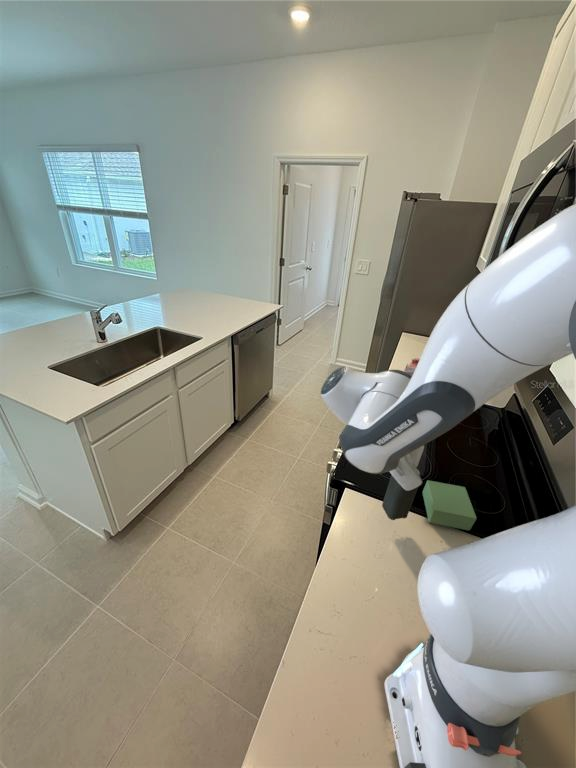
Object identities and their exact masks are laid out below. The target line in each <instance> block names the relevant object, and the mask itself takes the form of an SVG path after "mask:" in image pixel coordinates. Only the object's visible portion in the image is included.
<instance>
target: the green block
mask: <svg viewBox="0 0 576 768" xmlns="http://www.w3.org/2000/svg"><path fill="white" fill-rule="evenodd" d="M421 493H422V497H423V501H424V506H425V512H426V516H427V521H428V523H431V524H434V525H439V526H444V527H450V528H454V529H457V530H458V529H459V530H464V531H469V532H470V531H471V529H472V527H473V526H474V524H475V522H476V521H477V515H476V513H475V510H474V507H473V505H472V502H471V499H470V496H469V493H468V491H467V489H466V487H465V486H461V485H456V484H450V483H444V482H440V481H434V480H429V479H428V480H426V482H425V485H424V487H423V490H422V492H421Z"/></svg>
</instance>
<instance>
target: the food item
mask: <svg viewBox="0 0 576 768" xmlns="http://www.w3.org/2000/svg"><path fill="white" fill-rule="evenodd" d="M419 360H420V358H412V359H411V362H410V363H407V364H406V365H405V367H404V370H403V371H404V372H406V373H407V374H409V375H410V376H413V373H414V371H415V369H416V367H417V365H418V362H419Z"/></svg>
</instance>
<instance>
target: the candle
mask: <svg viewBox="0 0 576 768" xmlns="http://www.w3.org/2000/svg"><path fill="white" fill-rule="evenodd" d="M424 449H425V445H423V446H421V447H419V448H418V449H416V450H414V451H412V452H411V453H410V455H411V457H412V460H413V462H414V464H415V466H416V467H417V468H418V466H419V463H420V460H421V459H422V458H421V457H422V455H423V452H424ZM419 487H420V486H418V487H416V488H415V489H412V490H409V491H406V490H405V489H404V488H403V487H402V486H401V485H400V484H399V483H398V482H397V481H396V479H395V478H394V477H393V476H392V475H390V478H389V482H388V484H387V488H386V491H385V495H384V497H383V501H382V504H381V507H382V509H383V511H384V512H385V514H386V516H387V518H388V519H389V520H391V521H395V520H399V519H407V517H408V515H409V512H410V510H411V507H412V505H413V502H414V500H415V497H416V495H417V492H418V489H419Z"/></svg>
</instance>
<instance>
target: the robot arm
mask: <svg viewBox="0 0 576 768" xmlns="http://www.w3.org/2000/svg"><path fill="white" fill-rule="evenodd" d="M570 355H573V356H574V359H575V360H576V203H574V204H572V205H570V206H568V207H566V208H565V209H562V210H561V211H560V212H558V213H557V214H555V215H554V216H552V217H551V218H549V219H548V220H546V221H545V222H544V223H542V224H540V225H538V226H537V227H536V228H535V229H533V230H532V231H531V232H529V233H527V234H526V235H525V236H523V237H522V238H520V239H519V240H518V241H517V242H515V243H514V244H513V245H511V247H509V248H508V249H506V250H505V251H504V252H503V253H501V254H500V255H499V256H498V257H497V258H496V259H495V260H493V261H492V262H491V263H490V264H489V265H487V266H486V267H484V269H483V270H482V271H480V273H478V274H477V275H476V276H475V277H474V278H473V279H472V280H471V281H470V282H469V283H467V284H466V285H465V287H464V288H463V289H461V291H460V292H459V293H458V294H457V295H456V297H455V298H454V299H453V300H452V301H451V302H450V304H449V305H448V306H447V308H446V309H445V310H444V312H443V313H442V315H441V316H440V318H439V319H438V320H437V322H436V324H435V325H434V327H433V329H432V331H431V333H430V335H429V337H428V340H427V342H426V344H425V346H424V349H423V351H422V353H421V355H420V358H419V359H420V360H419V362H418V365H417V367H416V369H415V371H414V373H413V376H410V375H409V374H407V373H406V372H404V370H401V369H387V370H383V371H379V372H363V371H362V372H361V371H358V370H356V369H354V368H352V367H350V366H348V365H347V366H346V365H344V366H341V367H337V368H336V369H335V370H334V371H332V372H331V373H330V374H329V375H328V376H327V378H326V380H325V381H324V383H323V385H322V386H321V388H320V389H321V390H320V397H321V398H322V400H323V402H324V403H325V405H326V406H327V407H328V409H329V410H330V411H331V412H332V414H333V415H334V416H335V417H336V418H337V419H338V420H339V421H340V422H341V423H342V424H344V425H345V427H344V428H343V429H342V431H341V433H340V434H339V436H338V441H339V445H340V448H341V451H342V454H343V457H344V458H345V460H346V461H347V462H348V463H349V464H350V465H352V466H353V467H355V468H356V469H358V470H360V471H362V472H364V473H368V474H371V475H380V474H386V473H390V474H391V475H392V476H393V477H394V478H395V479H396V481H397V482H398V483H399V484H400V485H401V486H402V487H403V488H404V489H405V490H406V491H409V490H412V489H415V488H416V487H418V486H419V487H420V486H421V485H422V484H423V480H422V478H421V475H420V474H421V473H420V470H419V468H418V466H417V467H416V466H415V464H414V462H413V460H412V457H411V455H410V453H411V452H412V451H414V450H416V449H418V448H419V447H421V446H423V445H424V446H425V445H427V444H428V443H431V442H432V441H434V440H435V439H437V438H439V437H441V436H442V435H444V434H445V433H447V432H449V431H451V430H452V429H453V428H455V427H456V426H457V425H459V424H460V423H462V422H463V421H464V420H465V419H467V418H468V417H470V416H471V415H472V414H473V413H474V412H476V411H477V410H478V409H480V408H481V407H482V406H484V405H485V404H486V403H488V402H489V401H490V400H492V399H493V398H494V397H496V396H497V395H498V394H501V393H502V392H503V391H505V390H507V389H508V388H510V387H511V386H514V385H515V384H517V383H519V382H520V381H522V380H523V379H525V378H526V377H528V376H530V375H532V374H534V373H535V372H537V371H540V370H541V369H543V368H545V367H547V366H549V365H552V364H554V363H556V362H557V361H560V360H562V359H564V358H566V357H568V356H570ZM391 475H390V476H391ZM419 487H418V488H419ZM416 585H417V586H416V592H417V594H416V595H417V601H418V606H419V610H420V613H421V616H422V618H423V621H424V623H425V625H426V627H427V629H428V631H429V632H430V634H429V635H428V638H427V639H426V642H425V644H423V642H421V643H420V644H419V645H418V646H417V647H416V648H415V649H414V650H412V651H410V652H409V653H408V654H406V656H405V658H404V659H403V660H402V662H401V664H400V666H399V667H398V668H397V669H396V670H395V671H393V673H391V674H390V675H388V676H387V677H386V678H385V680H384V692H385V697H386V702H387V707H388V712H389V718H390V723H391V728H392V734H393V739H394V745H395V749H396V754H397V761H398V765H399V768H528V767H527V765H526V764H525V763H524V762H523V761H522V760H521V759H517V756H519V755H522V751H520V750H519V749H517V748H516V747H517V746H516V735H519V731H520V729H519V724H520V720H521V718H522V715H524V714H525V713H527V712H528V711H529V710H531V709H532V708H534V707H535V706H538V705H539V704H542V703H544V702H547V701H550V700H553V699H557V698H559V697H562V696H565V695H568V694H572V693H574V692H576V504H575V505H573V506H571V507H569V508H566V509H563V510H562V511H560V512H557V513H555V514H551V515H549V516H547V517H543V518H540V519H536V520H533V521H529V522H527V523H523V524H520V525H517V526H513V527H512V528H509V529H506V530H503V531H499V532H497V533H494V534H491V535H489V536H487V537H483V538H481V539H478V540H476V541H473V542H470V543H468V544H464V545H461V546H457V547H454V548H450V549H449V548H448V549H446V550H442V551H439V552H435V553H432V554H429V555H428V556H427V557H426V558H425V560H424V561H423V563H422V564H421V566H420V569H419V573H418V577H417V584H416ZM393 694H395V697H396V698H394V696H393ZM393 722H394V723H393ZM396 725H397V726H396ZM394 726H395V727H396V728H395V729H394ZM395 731H396V732H397V733H396V734H395ZM398 731H399V732H398ZM397 734H398V735H397ZM396 735H397V737H398V739H396ZM399 737H400V738H399Z"/></svg>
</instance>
